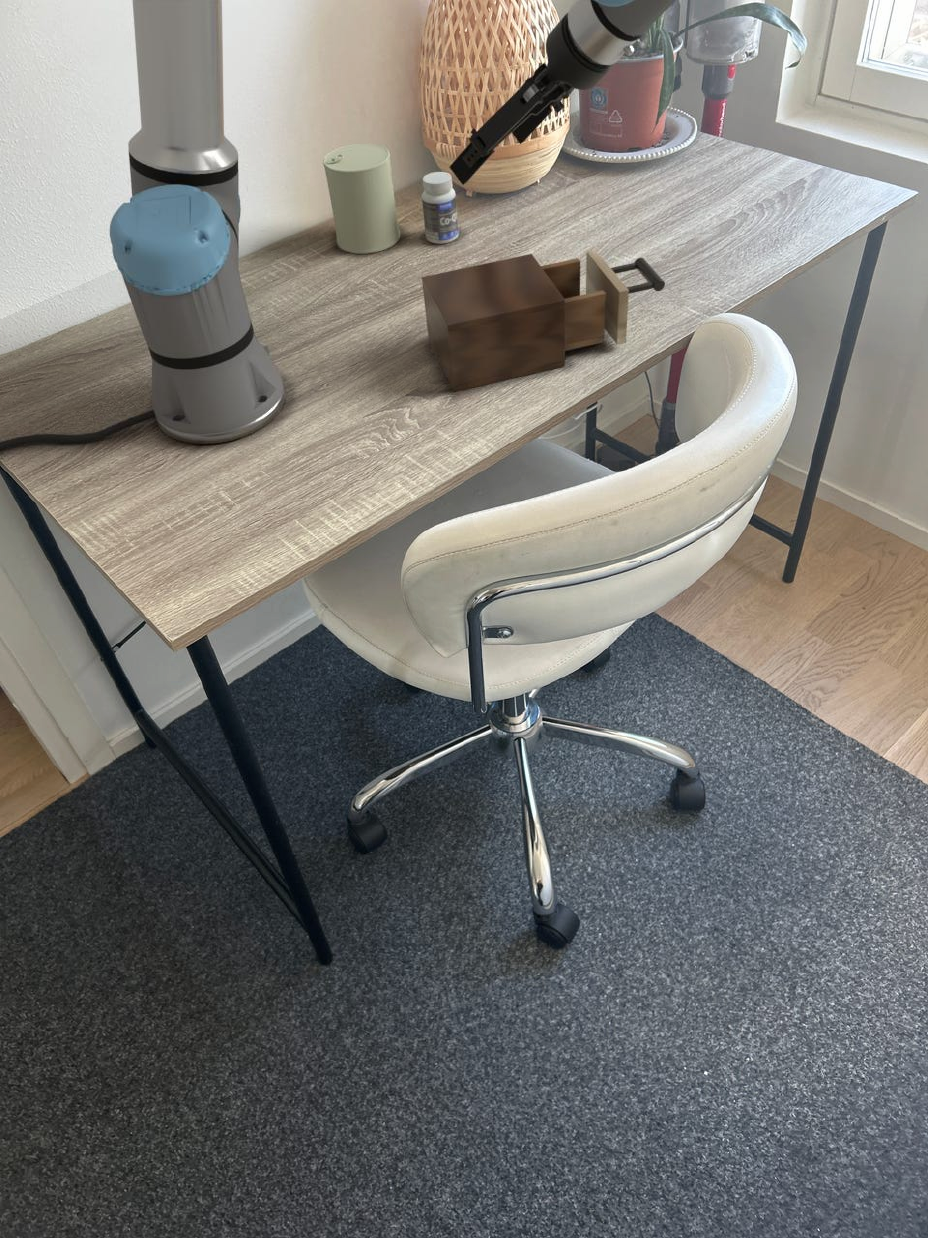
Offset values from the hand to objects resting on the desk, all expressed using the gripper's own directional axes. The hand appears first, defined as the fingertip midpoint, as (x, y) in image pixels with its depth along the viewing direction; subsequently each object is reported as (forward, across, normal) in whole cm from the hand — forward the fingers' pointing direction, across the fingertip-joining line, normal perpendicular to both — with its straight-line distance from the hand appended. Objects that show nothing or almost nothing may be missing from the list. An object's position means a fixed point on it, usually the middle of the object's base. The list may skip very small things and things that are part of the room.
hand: (487, 154), depth 127 cm
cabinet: (-1, -22, -20) cm, 30 cm away
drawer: (-7, -14, -24) cm, 28 cm away
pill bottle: (+15, 0, -3) cm, 16 cm away
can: (+22, -5, +4) cm, 23 cm away
